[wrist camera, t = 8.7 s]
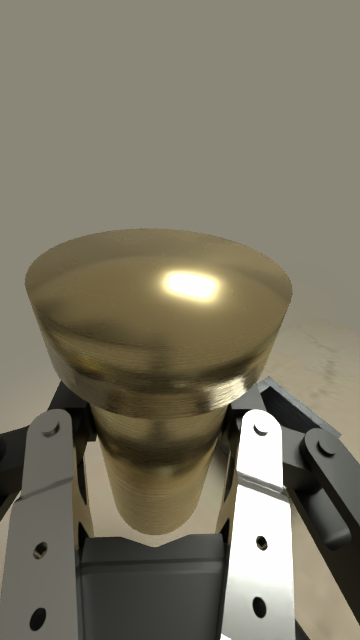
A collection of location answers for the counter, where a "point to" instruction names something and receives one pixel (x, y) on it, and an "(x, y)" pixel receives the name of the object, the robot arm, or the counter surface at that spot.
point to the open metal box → (285, 413)
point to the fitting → (157, 351)
